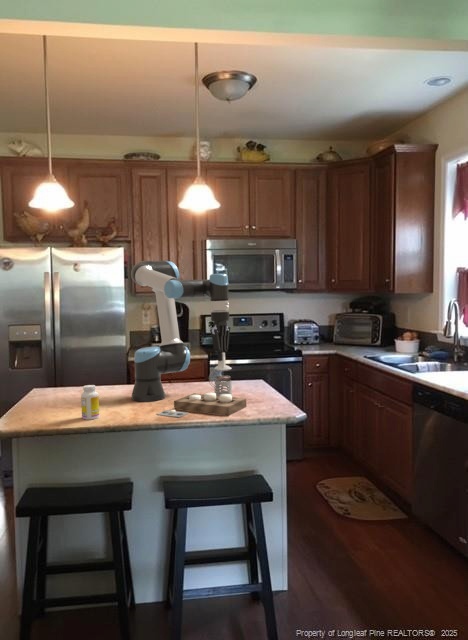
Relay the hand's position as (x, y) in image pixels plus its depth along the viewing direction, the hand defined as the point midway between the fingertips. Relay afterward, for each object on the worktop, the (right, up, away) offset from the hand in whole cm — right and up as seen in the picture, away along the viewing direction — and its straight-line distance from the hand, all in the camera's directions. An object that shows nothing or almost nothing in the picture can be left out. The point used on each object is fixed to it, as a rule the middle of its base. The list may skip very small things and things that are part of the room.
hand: (221, 368), depth 212 cm
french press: (-1, -16, +24) cm, 29 cm away
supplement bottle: (-52, -19, -8) cm, 56 cm away
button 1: (-12, -16, +8) cm, 21 cm away
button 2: (-5, -14, +4) cm, 16 cm away
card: (-20, -18, -5) cm, 27 cm away
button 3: (+2, -15, +1) cm, 15 cm away
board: (-5, -17, +5) cm, 19 cm away
